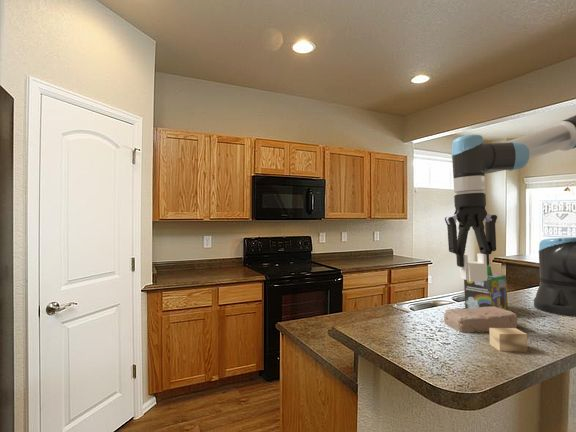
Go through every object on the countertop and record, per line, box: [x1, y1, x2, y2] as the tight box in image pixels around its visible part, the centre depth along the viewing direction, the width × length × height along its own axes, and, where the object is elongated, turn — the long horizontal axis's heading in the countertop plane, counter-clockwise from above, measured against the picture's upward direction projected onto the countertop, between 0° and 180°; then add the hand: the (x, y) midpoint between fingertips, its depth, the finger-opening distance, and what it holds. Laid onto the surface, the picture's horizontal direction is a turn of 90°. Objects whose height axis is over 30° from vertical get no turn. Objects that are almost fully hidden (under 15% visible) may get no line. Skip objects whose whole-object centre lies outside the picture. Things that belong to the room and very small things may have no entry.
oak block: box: [488, 327, 528, 352], centre depth 75 cm, size 6×4×4 cm, turn 87°
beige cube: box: [460, 261, 487, 282], centre depth 88 cm, size 4×4×4 cm
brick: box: [443, 306, 518, 333], centre depth 90 cm, size 17×8×5 cm, turn 96°
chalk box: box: [463, 265, 509, 311], centre depth 105 cm, size 9×9×15 cm
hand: (473, 278), depth 88 cm, fingers closed on beige cube, 4 cm apart
